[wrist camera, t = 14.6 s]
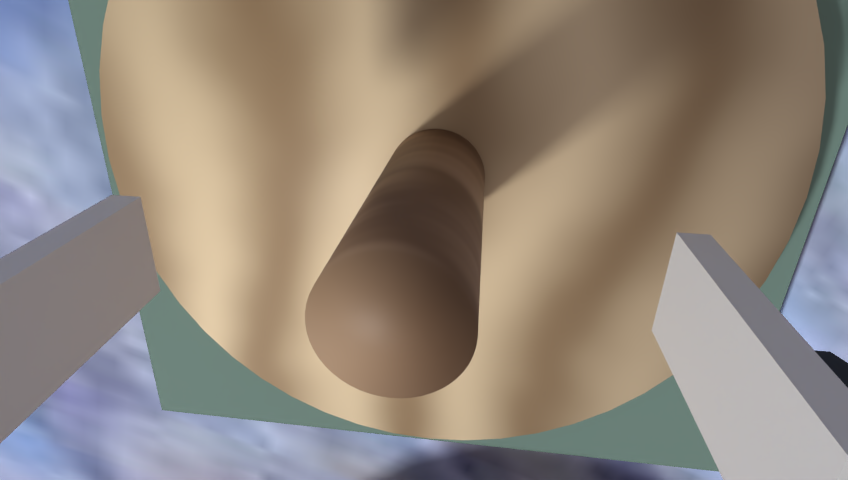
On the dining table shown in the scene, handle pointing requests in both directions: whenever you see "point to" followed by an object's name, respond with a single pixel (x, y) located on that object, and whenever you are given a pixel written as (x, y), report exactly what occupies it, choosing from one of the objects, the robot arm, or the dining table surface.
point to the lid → (456, 186)
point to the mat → (594, 437)
